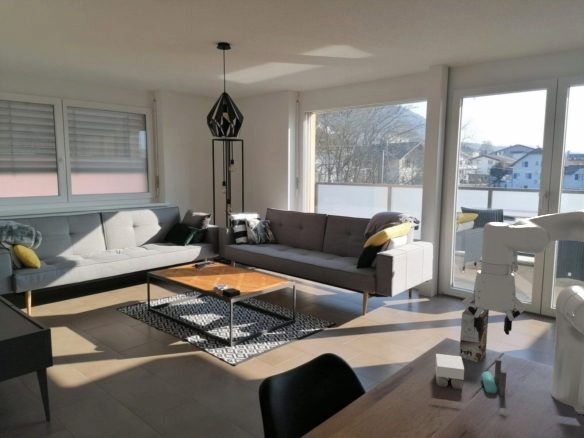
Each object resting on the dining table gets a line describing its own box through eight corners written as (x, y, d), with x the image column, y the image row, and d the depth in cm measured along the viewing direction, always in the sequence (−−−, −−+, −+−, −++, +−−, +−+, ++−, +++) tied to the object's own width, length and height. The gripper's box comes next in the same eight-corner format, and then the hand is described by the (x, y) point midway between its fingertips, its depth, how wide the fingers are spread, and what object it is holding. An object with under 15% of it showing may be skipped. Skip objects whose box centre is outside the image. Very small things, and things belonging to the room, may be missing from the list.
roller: (480, 379, 125) (482, 370, 124) (491, 382, 124) (493, 372, 123) (484, 392, 118) (486, 382, 117) (496, 395, 117) (498, 385, 117)
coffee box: (479, 366, 135) (482, 317, 133) (458, 360, 139) (461, 312, 136) (486, 355, 142) (489, 309, 140) (466, 350, 146) (469, 304, 144)
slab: (460, 366, 126) (461, 356, 126) (463, 379, 118) (464, 369, 118) (435, 363, 128) (435, 353, 127) (436, 376, 120) (437, 366, 120)
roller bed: (498, 384, 124) (500, 358, 123) (504, 401, 116) (506, 373, 115) (432, 375, 129) (434, 350, 128) (434, 391, 120) (435, 364, 119)
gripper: (528, 267, 117) (523, 329, 120) (460, 262, 122) (457, 323, 124) (535, 274, 110) (530, 340, 113) (463, 269, 115) (459, 333, 117)
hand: (491, 330), depth 118 cm, fingers open, 6 cm apart
